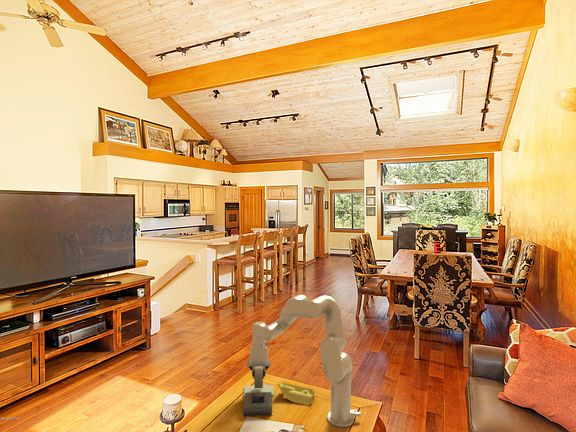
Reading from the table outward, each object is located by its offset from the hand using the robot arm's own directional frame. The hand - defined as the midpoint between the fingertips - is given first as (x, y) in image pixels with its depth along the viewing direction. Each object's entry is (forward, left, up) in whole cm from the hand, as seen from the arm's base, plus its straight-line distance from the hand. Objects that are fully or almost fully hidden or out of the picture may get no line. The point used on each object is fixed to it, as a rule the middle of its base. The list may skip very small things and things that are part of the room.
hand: (258, 377), depth 183 cm
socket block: (0, +15, -8) cm, 17 cm away
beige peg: (0, 0, -5) cm, 5 cm away
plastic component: (-21, +6, -8) cm, 23 cm away
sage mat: (0, 0, -8) cm, 8 cm away
